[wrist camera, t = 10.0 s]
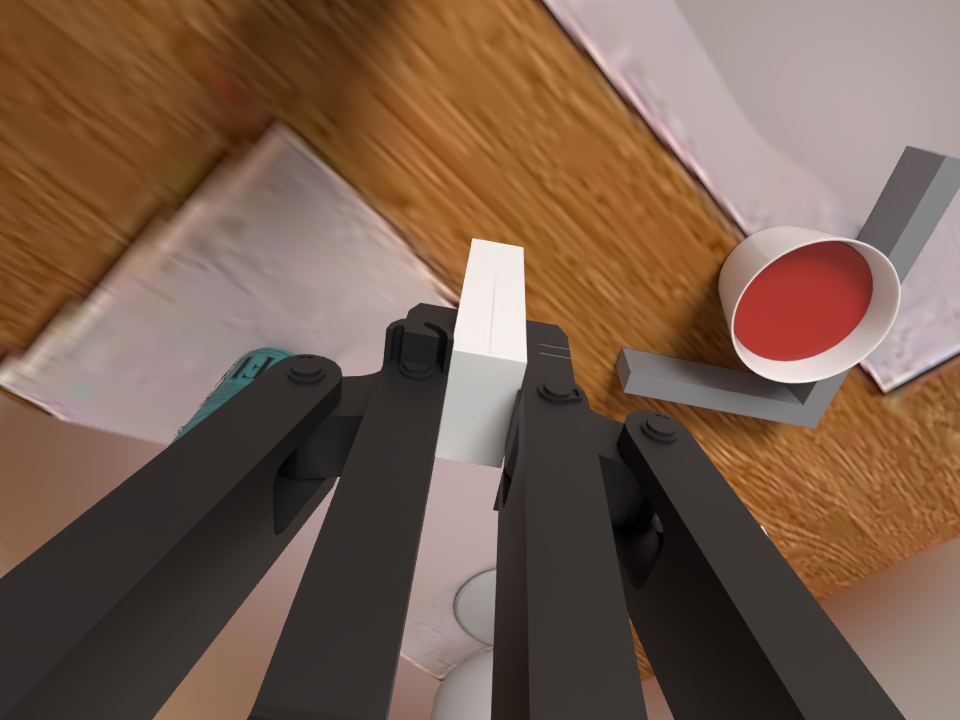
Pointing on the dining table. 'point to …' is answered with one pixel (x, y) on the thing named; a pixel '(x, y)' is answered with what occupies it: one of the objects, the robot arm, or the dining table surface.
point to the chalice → (469, 684)
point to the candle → (806, 302)
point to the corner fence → (900, 237)
